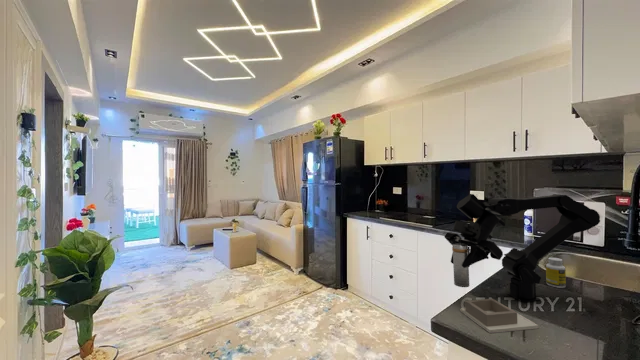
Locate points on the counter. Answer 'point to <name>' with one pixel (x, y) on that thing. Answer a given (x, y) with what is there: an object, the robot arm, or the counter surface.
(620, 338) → the counter surface
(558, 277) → the supplement bottle
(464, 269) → the grey metal tumbler
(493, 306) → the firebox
